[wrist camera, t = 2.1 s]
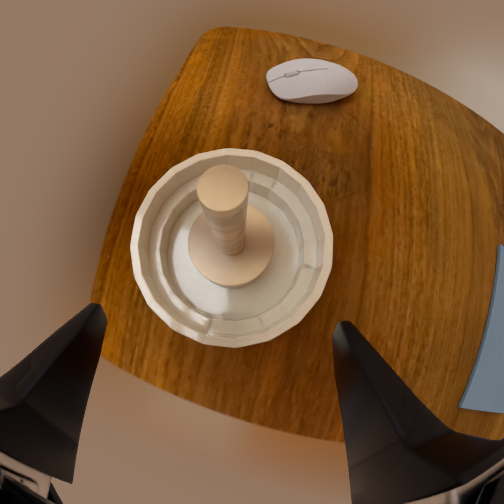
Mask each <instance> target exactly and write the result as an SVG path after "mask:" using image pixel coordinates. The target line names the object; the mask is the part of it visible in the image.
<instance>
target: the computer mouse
mask: <svg viewBox="0 0 504 504" xmlns="http://www.w3.org/2000/svg"><path fill="white" fill-rule="evenodd" d="M267 82H268V85H269V87H270V89H271V91H272V92H273V93H274V94H275V95H276V96H277V97H278V98H280V99H282V100H286V101H290V102H295V103H311V104H315V103H329V102H333V101H336V100H339V99H342V98H344V97H347V96H349V95H351V94H352V93H353V92H355V90H356V89H357V86H358V81H357V78H356V77H355V75H354V74H353V73H352V72H350V71H349V70H347V69H346V68H344V67H342V66H340V65H338V64H335V63H332V62H328V61H324V60H318V59H297V60H292V61H288V62H285V63H282V64H280V65H277V66H275V67H273V68H272V69H270V70H269V71H268V72H267Z"/></svg>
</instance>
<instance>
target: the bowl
mask: <svg viewBox="0 0 504 504" xmlns="http://www.w3.org/2000/svg"><path fill="white" fill-rule="evenodd" d="M217 165H230V166H233V167H236V168H237V169H239V170H240V171H241V172H242V173H243V174H244V175H245V176H246V178H247V181H248V184H249V191H248V204H249V205H251V206H253V207H254V208H256V209H257V210H259V211H260V212H261V213H262V214H263V215H264V216H265V217H266V219H267V220H268V222H269V224H270V226H271V228H272V231H273V235H274V250H273V255H272V258H271V260H270V262H269V264H268V266H267V267H266V268H265V270H264V271H263V273H262V274H261V275H260V276H259V277H258V278H257V279H256V280H255V281H254V282H252V283H251V284H249V285H246V286H244V287H240V288H224V287H221V286H218V285H216V284H214V283H212V282H211V281H209V280H208V279H207V278H205V277H204V276H203V275H202V274H200V273H199V272H198V270H197V269H196V268H195V266H194V265H193V263H192V261H191V259H190V256H189V252H188V235H189V231H190V229H191V226H192V224H193V222H194V221H195V219H196V218H197V217H198V215H199V214H200V213H201V212H203V209H202V206H201V204H200V201H199V198H198V195H197V183H198V181H199V179H200V177H201V176H202V174H203V173H204V172H205V171H206V170H208V169H210V168H211V167H214V166H217ZM130 250H131V258H132V265H133V273H134V277H135V280H136V282H137V284H138V286H139V288H140V290H141V292H142V294H143V296H144V298H145V300H146V302H147V304H148V306H149V307H150V308H151V309H152V310H153V311H154V312H155V313H156V314H157V315H158V316H159V317H160V318H161V319H162V320H163V321H164V322H165V323H166V324H167V325H168V326H169V327H170V328H171V329H173V330H174V331H176V332H178V333H180V334H182V335H184V336H186V337H188V338H190V339H193V340H195V341H197V342H199V343H201V344H202V343H203V344H205V345H213V346H222V347H231V348H236V347H237V348H239V347H244V346H249V345H253V344H258V343H262V342H267V341H270V340H272V339H274V338H275V337H277V336H279V335H280V334H282V333H284V332H285V331H287V330H289V329H290V328H292V327H293V326H295V325H297V324H298V323H299V322H300V321H301V320H302V319H303V318H304V317H305V315H306V314H307V313H308V312H309V311H310V309H311V308H312V307H313V306H314V305H315V303H316V302H317V301H318V300H319V298H320V297H321V295H322V292H323V290H324V287H325V284H326V282H327V279H328V277H329V274H330V271H331V268H332V256H333V233H332V229H331V226H330V222H329V219H328V216H327V212H326V209H325V206H324V204H323V202H322V201H321V199H320V198H319V196H318V195H317V193H316V192H315V190H314V189H313V187H312V186H311V185H310V183H309V182H308V181H307V180H306V179H305V178H304V177H303V176H301V175H300V174H299V173H298V172H296V171H295V170H294V169H293V168H291V167H290V166H289V165H288V164H286V163H285V162H283V161H281V160H278V159H276V158H274V157H271V156H269V155H266V154H263V153H261V152H258V151H257V152H256V151H253V150H243V149H231V148H226V149H220V150H215V151H210V152H205V153H200V154H197V155H195V156H193V157H191V158H189V159H187V160H185V161H183V162H182V163H180V164H178V165H176V166H174V167H172V168H171V169H170V170H169V171H168V172H167V173H166V174H165V175H164V176H163V177H162V178H161V179H160V180H159V181H158V182H157V183H156V184H155V185H154V186H153V187H152V188H151V189H150V190H149V192H148V194H147V196H146V197H145V199H144V201H143V203H142V205H141V207H140V209H139V210H138V212H137V214H136V217H135V222H134V227H133V232H132V238H131V243H130Z"/></svg>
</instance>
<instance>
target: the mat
mask: <svg viewBox="0 0 504 504" xmlns="http://www.w3.org/2000/svg"><path fill="white" fill-rule="evenodd" d="M458 407H460V408H465V409H472V410H479V411H487V412H495V413H504V246H503V245H502V244H499V245H498V253H497V263H496V272H495V279H494V286H493V292H492V298H491V303H490V308H489V313H488V318H487V322H486V326H485V330H484V334H483V338H482V341H481V345H480V348H479V352H478V355H477V358H476V361H475V364H474V367H473V370H472V373H471V375H470V378H469V381H468V383H467V386H466V389H465V391H464V393H463V396H462V398H461V401H460V403H459V405H458Z"/></svg>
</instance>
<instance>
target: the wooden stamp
mask: <svg viewBox="0 0 504 504" xmlns="http://www.w3.org/2000/svg"><path fill="white" fill-rule="evenodd" d="M248 191H249V184H248V181H247V178H246V176H245V175H244V174H243V173H242V172H241V171H240V170H239V169H237V168H236V167H233V166H230V165H217V166H214V167H211V168H210V169H208V170H206V171H205V172H204V173H203V174H202V176H201V177H200V179H199V181H198V183H197V195H198V198H199V201H200V204H201V206H202V209H203V212H201V213H200V214H199V215H198V217H197V218H196V219H195V221H194V222H193V224H192V226H191V229H190V231H189V235H188V252H189V256H190V259H191V261H192V263H193V265H194V266H195V268H196V269H197V270H198V272H199V273H200V274H202V275H203V276H204V277H205V278H207V279H208V280H209V281H211V282H212V283H214V284H216V285H218V286H221V287H224V288H240V287H244V286H246V285H249V284H251V283H252V282H254V281H255V280H256V279H257V278H258V277H259V276H260V275H261V274H262V273H263V271H264V270H265V268H266V267H267V266H268V264H269V262H270V260H271V258H272V255H273V250H274V235H273V231H272V228H271V226H270V224H269V222H268V220H267V219H266V217H265V216H264V215H263V214H262V213H261V212H260V211H259V210H257V209H256V208H254V207H253V206H251V205H249V204H248Z"/></svg>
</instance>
